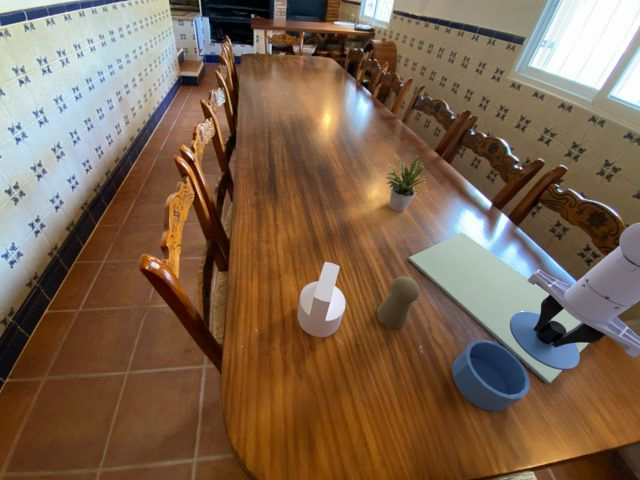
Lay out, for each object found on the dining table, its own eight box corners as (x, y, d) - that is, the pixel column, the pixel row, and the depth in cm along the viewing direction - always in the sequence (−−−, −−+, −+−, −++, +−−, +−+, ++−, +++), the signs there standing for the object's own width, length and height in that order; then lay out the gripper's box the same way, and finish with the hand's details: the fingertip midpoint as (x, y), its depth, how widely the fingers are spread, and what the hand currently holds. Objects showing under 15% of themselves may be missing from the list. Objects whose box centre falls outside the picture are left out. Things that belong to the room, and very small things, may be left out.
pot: (520, 393, 53) (540, 379, 49) (488, 423, 49) (508, 411, 45) (472, 346, 59) (487, 331, 55) (440, 370, 55) (454, 355, 51)
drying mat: (598, 332, 64) (601, 330, 63) (547, 384, 54) (550, 382, 54) (460, 234, 85) (462, 232, 85) (407, 259, 76) (408, 257, 76)
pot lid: (586, 353, 50) (607, 339, 47) (557, 384, 46) (578, 371, 43) (525, 306, 57) (541, 291, 54) (495, 329, 53) (510, 315, 50)
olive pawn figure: (409, 329, 61) (429, 298, 54) (380, 328, 61) (396, 296, 54) (401, 304, 65) (418, 272, 58) (374, 302, 65) (388, 270, 58)
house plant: (378, 186, 102) (392, 142, 91) (419, 198, 98) (439, 153, 88) (370, 209, 91) (384, 162, 81) (416, 223, 88) (437, 176, 77)
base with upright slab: (335, 343, 57) (347, 308, 50) (291, 328, 59) (296, 292, 52) (343, 305, 64) (355, 270, 56) (304, 293, 66) (310, 256, 58)
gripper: (687, 318, 39) (607, 363, 47) (566, 245, 48) (517, 294, 57) (670, 342, 36) (587, 386, 44) (544, 260, 45) (496, 309, 54)
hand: (547, 336), depth 50 cm, fingers closed on pot lid, 2 cm apart
